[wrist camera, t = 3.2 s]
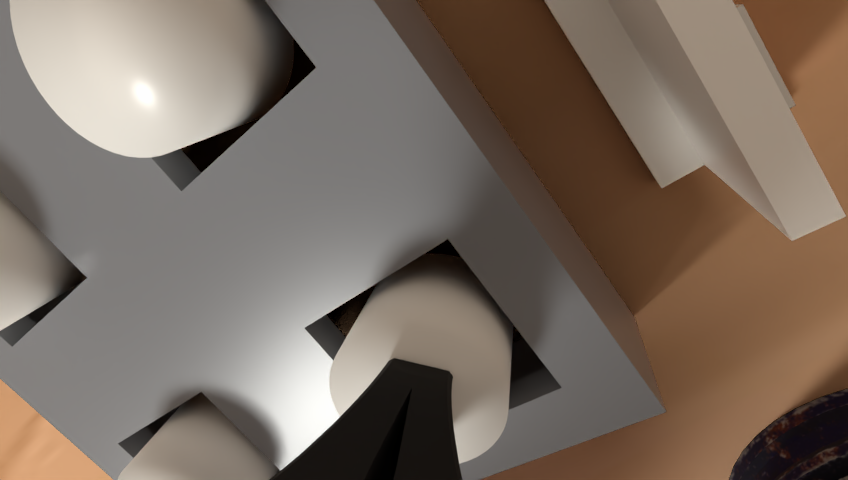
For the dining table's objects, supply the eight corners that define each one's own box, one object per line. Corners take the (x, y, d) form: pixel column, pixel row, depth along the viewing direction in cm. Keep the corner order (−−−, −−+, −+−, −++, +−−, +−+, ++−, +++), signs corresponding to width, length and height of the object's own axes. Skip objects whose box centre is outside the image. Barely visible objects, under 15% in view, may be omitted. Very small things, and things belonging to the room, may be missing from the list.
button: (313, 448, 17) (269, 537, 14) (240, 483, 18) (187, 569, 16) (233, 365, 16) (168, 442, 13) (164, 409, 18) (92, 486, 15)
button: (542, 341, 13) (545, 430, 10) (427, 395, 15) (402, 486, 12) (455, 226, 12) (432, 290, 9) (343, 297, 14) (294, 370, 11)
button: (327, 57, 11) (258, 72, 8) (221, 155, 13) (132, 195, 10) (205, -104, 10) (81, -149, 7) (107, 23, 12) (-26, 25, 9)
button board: (634, 316, 15) (666, 411, 11) (270, 482, 22) (219, 573, 18) (256, -231, 11) (128, -346, 8) (-41, 175, 18) (-183, 215, 14)
